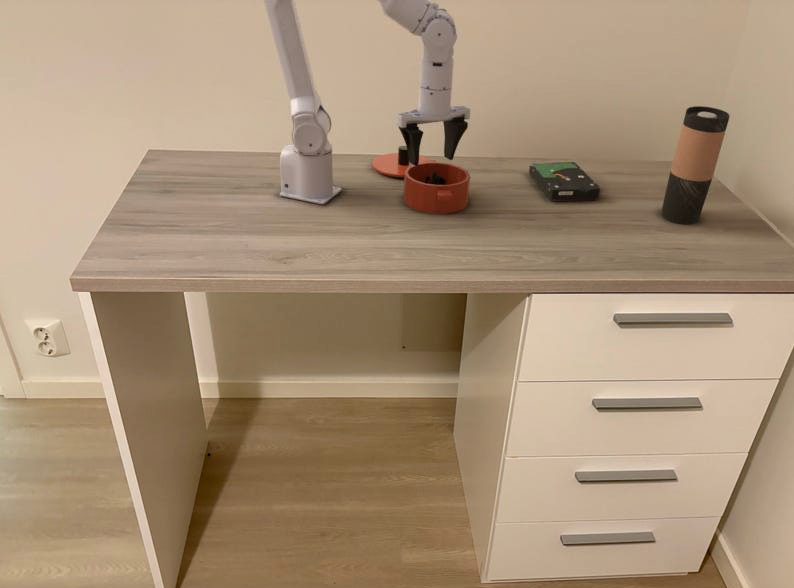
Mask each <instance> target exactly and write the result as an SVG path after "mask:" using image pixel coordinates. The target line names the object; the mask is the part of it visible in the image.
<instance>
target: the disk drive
mask: <svg viewBox="0 0 794 588" xmlns="http://www.w3.org/2000/svg"><path fill="white" fill-rule="evenodd" d="M528 174H529V176H530V177H531V178H532V180H533V181H534V183H535V184H536V185H537V186H538V187H539V188H540V189H541V191H542V192H543V193H544V195H546V197H547V198H548V199H549V200H550V201H555V202H557V201H558V202H561V201H562V202H566V201H591V200H594V201H595V200H599V198H600V193H601V187H600V186H599V185H598V183H596V182H595V181H594V180H593V179H592V178H591V177H590V175H588V174H587V173H586V172H585V170H583V169H582V168H581V167H580V165H578V164H577V163H576V162H575V161H571V162H570V161H563V162H562V161H561V162H560V161H559V162H558V161H555V162H554V161H553V162H544V163H536V162H532V163H531V165H529V169H528Z"/></svg>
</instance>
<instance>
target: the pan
mask: <svg viewBox="0 0 794 588" xmlns="http://www.w3.org/2000/svg"><path fill="white" fill-rule="evenodd" d="M432 172H435V173H436V174H437V175H440V176H441V177H443V178H444V179H445V180H446V184H445V185H433V184H429V182H432V176H431V173H432ZM426 175H427V176H429V177H430V180H429V181H427V184H426V183H425V176H426ZM403 178H404V179H403V180H404V181H403V200H404V203H405V204H406V206H408V207H409V208H410V209H412V210H415V211H417V212H420V213H425V214H430V215H431V214H433V215H448V214H453V213H458V212H460V211H462V210H464V209H465V208H466V207H467V205H468V201H469V193H470V183H471V182H470V181H471V175H470V173H469V171H468V170H466V169H465V168H463V167H461V166H458V165H455V164H452V163H446V162H439V161H436V160H432V161H424V163H419V164H418V165H416V166H415V165H412V166H410V167H408V168H407V169H406V171H405V176H404V177H403Z"/></svg>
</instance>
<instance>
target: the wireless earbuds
mask: <svg viewBox="0 0 794 588" xmlns="http://www.w3.org/2000/svg"><path fill="white" fill-rule="evenodd" d="M431 176H432V182H429V184H433V185H445V184H446V180H445V179H444V178H443V177H441V176H440V175H437V174H436V173H435V172H432V173H431ZM429 180H430V177H429V176H427V175H426V176H425V183H426V184H427V181H429Z"/></svg>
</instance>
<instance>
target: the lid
mask: <svg viewBox="0 0 794 588" xmlns="http://www.w3.org/2000/svg"><path fill="white" fill-rule="evenodd" d="M397 150H398V151H397V152H392V153H384V154H382V155H378V156H376V157H374V158H373V160H372V163H371V165H372V168H373V169H374V171H376V172H378V173H380V174H382V175H385V176H390V177H396V178H404V176H405V171H406V169H407V168H408V167H410V166H412V165H413V164H411V163H410V161H409V155H408V151H407V147H406V145H400V146H398V149H397ZM424 161H433V160H432V159H431V158H429V157H426V156H424V155H420V154H419V163H424ZM419 163H418V164H419Z"/></svg>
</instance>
